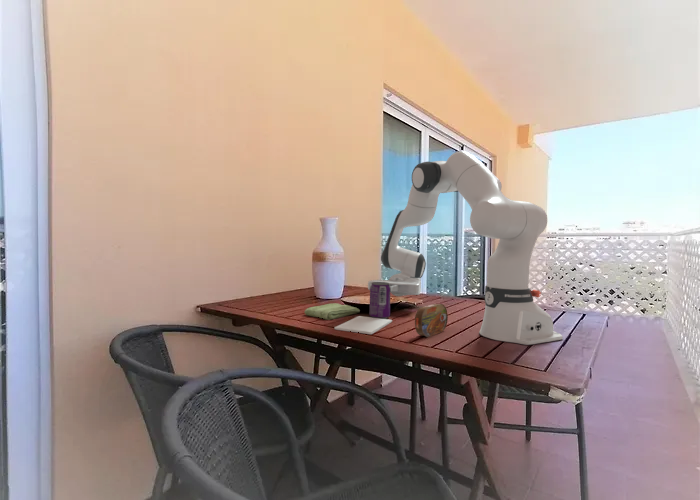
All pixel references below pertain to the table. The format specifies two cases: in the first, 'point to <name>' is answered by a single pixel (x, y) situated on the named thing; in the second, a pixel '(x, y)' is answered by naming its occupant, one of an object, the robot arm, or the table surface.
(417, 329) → the tin
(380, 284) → the beverage can
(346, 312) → the washcloth
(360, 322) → the white rectangular slab
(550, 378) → the table surface
